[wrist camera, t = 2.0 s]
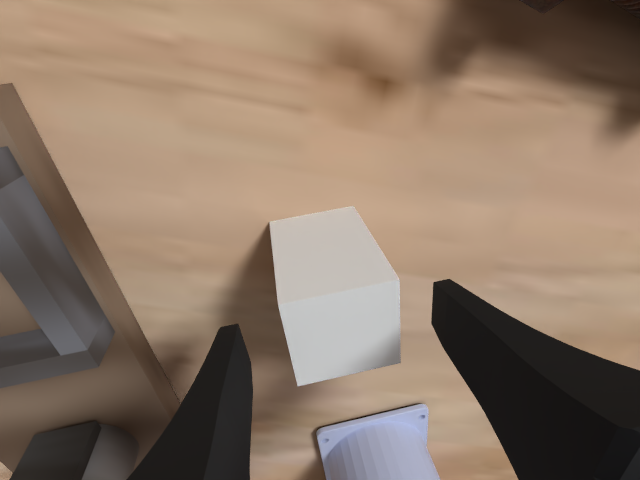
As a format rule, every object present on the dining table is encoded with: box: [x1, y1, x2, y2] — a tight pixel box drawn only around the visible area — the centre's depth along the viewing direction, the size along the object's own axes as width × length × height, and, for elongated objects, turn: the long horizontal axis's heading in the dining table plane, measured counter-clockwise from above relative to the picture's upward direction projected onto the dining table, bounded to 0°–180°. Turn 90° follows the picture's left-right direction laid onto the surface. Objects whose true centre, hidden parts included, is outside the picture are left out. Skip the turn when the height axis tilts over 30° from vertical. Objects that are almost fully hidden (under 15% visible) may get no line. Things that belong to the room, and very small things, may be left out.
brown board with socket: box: [0, 83, 181, 480], centre depth 14 cm, size 22×9×6 cm, turn 7°
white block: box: [269, 206, 400, 386], centre depth 15 cm, size 4×4×6 cm
